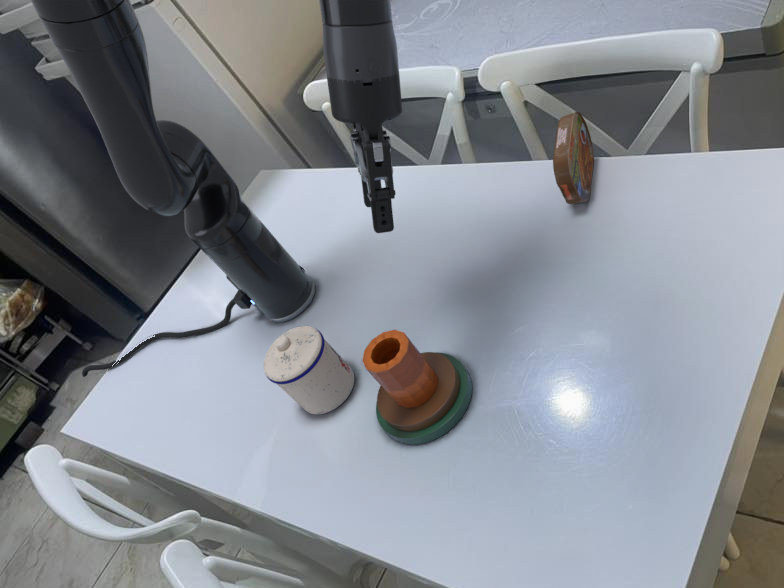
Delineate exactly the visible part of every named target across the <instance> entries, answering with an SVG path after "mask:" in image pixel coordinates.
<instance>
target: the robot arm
mask: <svg viewBox="0 0 784 588" xmlns="http://www.w3.org/2000/svg"><path fill="white" fill-rule="evenodd" d="M30 2H31V3H32V6H33V8H34V10H35V12H36V14H37V16H38V18H39V20H40V21H41V23H42V25H43V28H44V29H45V31H46V32H47V34H48V36H49V39H50V40H51V42H52V43H53V46H54V47H55V48H56V50H57V52H58V53H59V56H60V57H61V59H62V60H63V62H64V64H65V65H66V67H67V69H68V71H69V73H70V75H71V77H72V79H73V81H74V83H75V85H76V87H77V89H78V90H79V93H80V94H81V97H82V98H83V100H84V102H85V104H86V106H87V108H88V110H89V112H90V114H91V115H92V117H93V120H94V122H95V124H96V126H97V129H98V131H99V133H100V135H101V138H102V140H103V143H104V145H105V147H106V149H107V152H108V155H109V157H110V160H111V162H112V165H113V168H114V170H115V172H116V175H117V177H118V179H119V181H120V183H121V185H122V187H123V188H124V190H125V191H126V193H127V194H128V195H129V196H130V198H132V200H133V201H134V202H136V203H137V204H138V205H139V206H141V207H142V208H143V209H145V210H146V211H148V212H150V213H152V214H155V215H157V216H162V217H171V216H176V215H179V214H180V213H182V212H183V216H184V217H183V218H184V230H185V233H186V235H187V236H188V238H189V239H190V240H191V241H192V242H193V244H195V245H196V246H197V247H198V248H199V249H200V250H201V252H203V253H204V254H205V255H206V256H207V257H208V259H210V260H211V261H212V262H213V263H214V264H215V266H217V267H218V268H219V269H220V271H222V272H223V273H224V274H225V275H226V276H225V277H226V279H227V280H228V281H229V282H230V283H231V285H233V287H235V289H237V291H236V293H235V295H234V296H233V298H232V299H231V300H230V301H229V302H228V303H227V305H226V307H225V314H224V318H223V319H222V320H221V321H220V322H218V323H216V324H214V325H211V326H207V327H203V328H198V329H191V330H186V331H181V332H173V331H172V332H171V331H164V332H158V333H155V334H153V336H154V335H155V337H152V338H150V339H147V340H146V341H144V342H142V343H141V344H139V345H138V346H137V347H135V348H134V349H133V350H132V351H130V352H129V353H128V354H126V355H125V356H124V357H122V358H121V360H120V361H119V360H118V361H117V362H116V360H117V359H115V360H113V361H110V362H108V363H104V364H92V365H87V366H85V367H84V368H83V369H82V371H81V376H82V378H85V377H87V376H88V374H89V372H91V371H103V370H108V369H109V370H110V369H112V368H114V367H116V366H118V365H120V364H121V363H124V361H126V360H127V359H129V358H130V357H131V356H133V355H134V354H135V353H136V352H138V351H139V350H140V349H142V348H143V347H145V346H146V345H148V344H150V343H151V342H153V341H156V340H159V339H162V338H175V339H180V338H182V339H183V338H189V337H192V336H199V335H204V334H209V333H212V332H215V331H217V330H220V329H221V328H223V327H225V326H226V325H227V324H228V323H229V322H230V321H231V318H232V310H233V309H234V306H235V305H237V306H238V307H239V308H240V309H241V310H249V309H251V307H252V306H253V307H254V308H255V309H256V310H257V311H258V312H259V313H260V314H261V315H262V316H265V317H266V318H267V319H268V320H269V321H270V322H273V323H284V322H285V323H286V322H288V321H291V320H292V319H294V318H296V317H298V316H299V315H301V313H303V312H304V311H305V310H307V308H308V307H309V305H311V303H312V301H313V299H314V297H315V294H316V284H315V282H314V281H313V279H312V278H311V277H310V276H308V275H307V271H306V269H304V267H303V266H301V265H300V264H298V262H297V261H296V260H295V259H294V258H293V257H292V256H291V254H290V253H289V252H288V251H287V250H286V248H284V246H283V245H282V244H281V243H280V241H278V239H277V238H276V237H275V236H274V235H273V234H272V233H271V231H270V229H268V228H267V227H266V225H265V224H264V223H263V222H262V220H260V219H259V217H258V216H257V215H256V214H255V212H254V211H253V210H252V209H251V208H250V207H249V206H248V205H247V204H246V203H245V201H244V200H243V197H242V194H241V191H240V189H239V186H238V185H237V183H236V182H235V180H234V179H233V178H232V176H231V175H230V174H229V172H228V171H227V170H226V168H225V167H224V166H223V164H222V163H221V162H220V160H219V159H218V158H217V157H216V155H214V153H213V152H212V151H211V149H210V148H209V146H207V144H206V143H205V142H204V141H203V140H202V139H201V138H200V137H199V136H198V135H197V134H196V133H194V132H193V131H192V130H190V129H189V128H187V127H186V126H184V125H182V124H180V123H178V122H176V121H172V120H169V119H157V118H156V115H155V110H154V105H153V97H152V89H151V88H152V87H151V75H150V67H149V66H150V65H149V58H148V51H147V46H146V45H147V44H146V40H145V37H144V32H143V30H142V27H141V24H140V21H139V18H138V16H137V14H136V11H135V9H134V7H133V5H132V2H131V0H30ZM318 2H319V10H320V17H321V23H322V25H321V26H322V51H323V58H324V65H325V73H326V82H327V88H328V94H329V95H328V96H329V103H330V111H331V115H332V117H333V118H334V119H335V120H336V121H338V122H340V123H344V124H352V132H350V144H351V146H352V147H351V148H352V150H353V157H354V163H355V165H357V166H358V167H357V172H358V173H359V176H360V179H361V187H362V194H363V203H364V206H365V207H366V208H370V209H371V217H372V218H371V219H372V228H373V231H374V232H375V233H376V234H384V233H391V232H393V231H394V230H395V223H394V215H393V214H394V213H393V204H392V203H393V202H392V200H393V199H395V198H396V190H395V186H394V175H393V174H394V167H393V161H392V155H391V152H392V151H391V150H392V142H391V136H390V135H388V132H387V129H384V128H383V124H384V123H385V122H386V121H392V120H394V119H397V118H398V117H400V116H401V114H402V112H403V101H402V90H401V77H400V66H399V64H400V63H399V56H398V53H399V51H398V44H397V39H396V33H395V30H394V23H393V15H392V1H391V0H318ZM382 181H384V185H385V187H382ZM115 362H116V363H115ZM118 362H119V363H118ZM114 363H115V364H114ZM117 363H118V364H117ZM113 364H114V365H113ZM116 364H117V365H116ZM112 365H113V367H112ZM115 365H116V366H115Z"/></svg>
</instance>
